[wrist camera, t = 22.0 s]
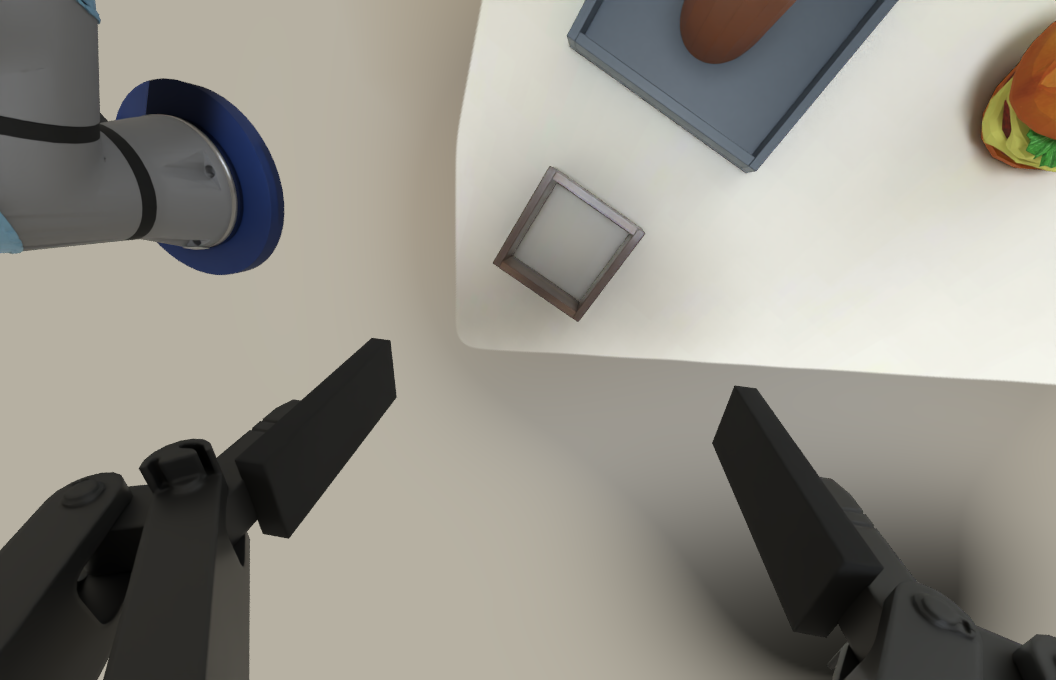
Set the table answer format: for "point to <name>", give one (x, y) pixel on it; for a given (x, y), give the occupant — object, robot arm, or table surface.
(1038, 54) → the cheeseburger
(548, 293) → the tray
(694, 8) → the bottle
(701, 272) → the table surface
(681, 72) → the tray
